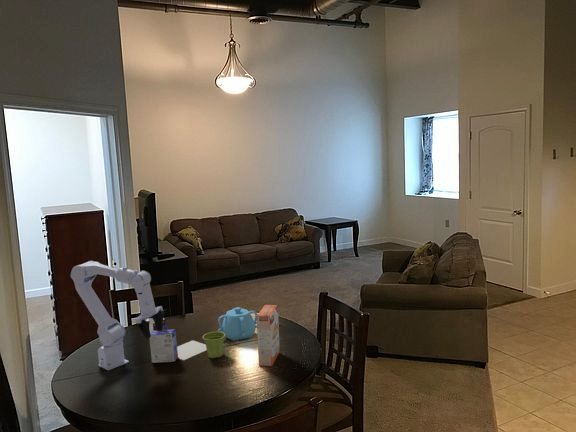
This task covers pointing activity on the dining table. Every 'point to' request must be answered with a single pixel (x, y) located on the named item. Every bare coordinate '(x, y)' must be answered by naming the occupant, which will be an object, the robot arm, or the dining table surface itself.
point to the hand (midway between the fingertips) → (154, 334)
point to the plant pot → (214, 343)
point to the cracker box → (268, 335)
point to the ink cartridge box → (163, 345)
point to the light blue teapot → (238, 324)
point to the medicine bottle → (153, 324)
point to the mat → (190, 350)
